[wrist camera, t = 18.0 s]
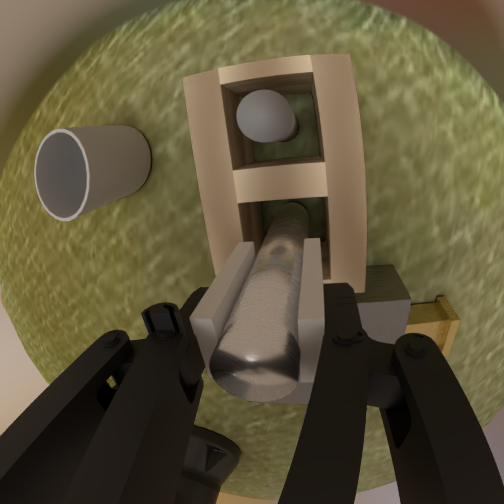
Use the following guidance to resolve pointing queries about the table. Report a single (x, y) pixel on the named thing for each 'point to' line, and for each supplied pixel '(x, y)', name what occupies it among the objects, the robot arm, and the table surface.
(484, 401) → the table surface
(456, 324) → the brass square peg
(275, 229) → the round-ended peg
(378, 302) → the socket block
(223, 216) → the rack
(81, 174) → the cup
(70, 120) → the table surface
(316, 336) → the robot arm
